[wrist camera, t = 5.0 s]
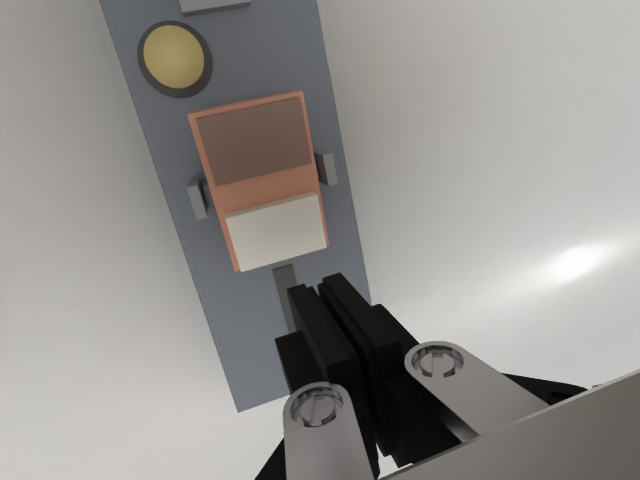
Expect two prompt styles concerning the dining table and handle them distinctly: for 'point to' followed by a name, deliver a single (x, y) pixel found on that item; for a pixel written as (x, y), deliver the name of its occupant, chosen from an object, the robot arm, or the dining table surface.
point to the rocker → (262, 177)
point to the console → (188, 173)
